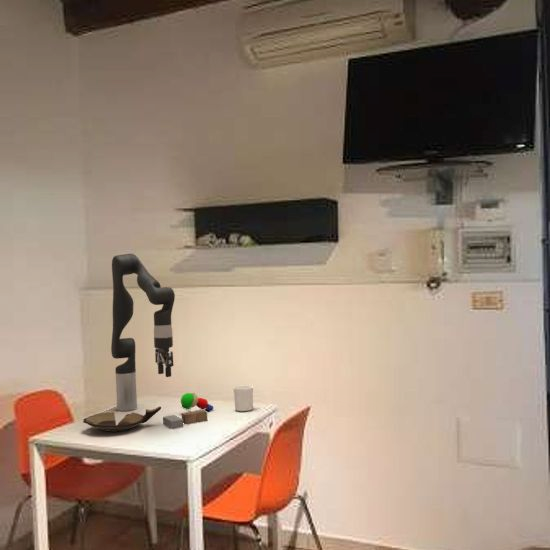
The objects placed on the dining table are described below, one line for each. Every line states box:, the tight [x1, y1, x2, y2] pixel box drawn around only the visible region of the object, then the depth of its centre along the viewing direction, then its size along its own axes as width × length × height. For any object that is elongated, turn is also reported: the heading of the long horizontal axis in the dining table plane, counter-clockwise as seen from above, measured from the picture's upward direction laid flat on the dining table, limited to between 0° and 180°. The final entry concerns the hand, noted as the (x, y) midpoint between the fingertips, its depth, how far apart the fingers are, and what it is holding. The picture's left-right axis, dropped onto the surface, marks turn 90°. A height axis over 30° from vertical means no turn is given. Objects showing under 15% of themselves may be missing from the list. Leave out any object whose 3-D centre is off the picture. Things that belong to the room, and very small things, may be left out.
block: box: [181, 409, 208, 426], centre depth 252 cm, size 4×4×10 cm
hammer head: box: [162, 414, 184, 430], centre depth 247 cm, size 10×5×3 cm, turn 31°
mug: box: [232, 385, 254, 413], centre depth 270 cm, size 11×9×10 cm
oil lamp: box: [82, 406, 162, 432], centre depth 244 cm, size 22×30×8 cm
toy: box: [180, 392, 214, 412], centre depth 268 cm, size 8×8×15 cm
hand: (164, 375), depth 245 cm, fingers open, 8 cm apart
